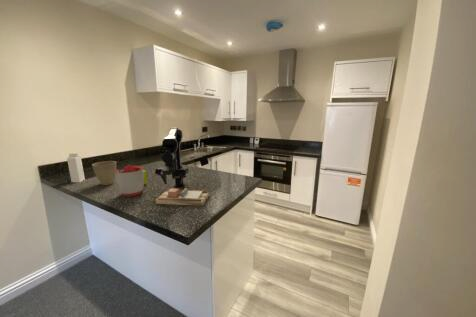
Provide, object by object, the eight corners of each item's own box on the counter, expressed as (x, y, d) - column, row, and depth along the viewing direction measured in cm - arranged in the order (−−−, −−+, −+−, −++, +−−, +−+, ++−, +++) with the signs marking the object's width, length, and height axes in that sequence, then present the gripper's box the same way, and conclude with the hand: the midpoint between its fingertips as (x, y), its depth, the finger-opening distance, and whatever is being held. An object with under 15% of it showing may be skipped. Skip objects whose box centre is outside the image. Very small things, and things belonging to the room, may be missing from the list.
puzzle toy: (142, 180, 153) (141, 168, 151) (147, 183, 146) (145, 171, 144) (128, 183, 147) (126, 171, 144) (132, 187, 140) (131, 173, 137)
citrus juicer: (130, 187, 138) (127, 160, 134) (150, 190, 133) (147, 162, 129) (110, 196, 123) (106, 166, 119) (132, 199, 119) (128, 168, 114)
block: (172, 197, 122) (171, 188, 121) (179, 197, 122) (179, 188, 120) (168, 200, 117) (167, 191, 116) (176, 201, 117) (175, 191, 115)
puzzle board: (167, 194, 127) (166, 189, 126) (208, 195, 124) (208, 190, 124) (156, 203, 113) (155, 198, 113) (202, 205, 111) (202, 200, 110)
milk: (77, 180, 155) (71, 153, 150) (85, 179, 155) (80, 152, 151) (71, 182, 149) (65, 154, 144) (79, 182, 149) (74, 154, 145)
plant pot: (112, 179, 157) (109, 160, 153) (123, 182, 150) (120, 162, 146) (91, 185, 144) (87, 164, 140) (102, 188, 137) (98, 166, 133)
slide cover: (185, 192, 124) (185, 186, 123) (202, 192, 123) (202, 187, 122) (178, 199, 113) (178, 193, 112) (197, 200, 112) (197, 194, 111)
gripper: (148, 162, 107) (151, 188, 110) (181, 162, 105) (183, 190, 108) (158, 157, 118) (160, 182, 121) (188, 158, 116) (189, 183, 119)
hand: (173, 184), depth 117 cm, fingers open, 9 cm apart
